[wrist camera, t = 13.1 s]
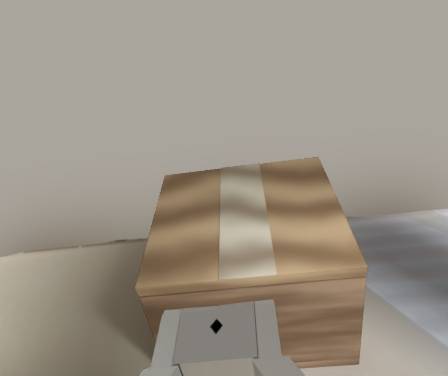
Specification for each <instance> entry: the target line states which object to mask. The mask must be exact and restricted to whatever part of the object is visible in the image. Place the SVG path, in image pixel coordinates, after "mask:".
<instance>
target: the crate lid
mask: <svg viewBox="0 0 448 376" xmlns="http://www.w3.org/2000/svg"><path fill="white" fill-rule="evenodd" d="M367 269H368V266H367V264H366V262H365V259H364V257H363V255H362V253H361V251H360V248H359V246H358V244H357V242H356V239H355V237H354V235H353V233H352V231H351V228H350V226H349V224H348V222H347V219H346V217H345V215H344V213H343V211H342V208H341V206H340V204H339V202H338V200H337V197H336V195H335V193H334V191H333V188H332V186H331V184H330V182H329V179H328V177H327V175H326V173H325V171H324V168H323V166H322V164H321V162H320V159H319V158H318V157H313V158H304V159H297V160H289V161H281V162H271V163H264V164H259V163H258V164H251V165H241V166H233V167H225V168H221V169H214V170H205V171H197V172H189V173H181V174H172V175H165V177H164V181H163V185H162V188H161V192H160V196H159V200H158V203H157V207H156V211H155V215H154V218H153V222H152V226H151V230H150V233H149V237H148V241H147V244H146V248H145V252H144V256H143V259H142V263H141V267H140V271H139V274H138V278H137V282H136V286H135V290H136V292H137V294H138V296H151V295H162V294H173V293H184V292H195V291H207V290H218V289H229V288H240V287H251V286H262V285H274V284H285V283H296V282H307V281H318V280H329V279H341V278H352V277H363V276H366V275H367Z"/></svg>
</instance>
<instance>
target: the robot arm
mask: <svg viewBox="0 0 448 376" xmlns="http://www.w3.org/2000/svg"><path fill="white" fill-rule="evenodd" d="M138 376H305V375H304V374H303V373H302V372H301V370H300V369H299V368H298V367H297V366H296V365H295V363H294V362H293V361H292V360H291V359H290V358H289V357H288V356H282V354H281V347H280V340H279V333H278V326H277V318H276V311H275V304H274V300H273V299H271V300H262V301H255V302H254V301H250V302H242V303H233V304H225V305H219V306H209V307H196V308H183V309H174V310H165V311H164V313H163V315H162V317H161V322H160V326H159V331H158V335H157V340H156V344H155V349H154V353H153V357H152V362H151V366H150V368H144V370H143V371H142V372H141V373H140V374H139V375H138Z"/></svg>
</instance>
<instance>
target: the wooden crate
mask: <svg viewBox="0 0 448 376" xmlns="http://www.w3.org/2000/svg"><path fill="white" fill-rule="evenodd" d="M365 287H366V276H363V277H352V278H341V279H329V280H318V281H307V282H296V283H285V284H274V285H262V286H251V287H240V288H229V289H218V290H207V291H195V292H184V293H173V294H162V295H151V296H140V301H141V304H142V306H143V309H144V312H145V314H146V317H147V320H148V322H149V325H150V328H151V331H152V333H153V336H154V339H155V341H156V340H157V335H158V331H159V326H160V322H161V317H162V315H163V313H164V311H165V310H174V309H183V308H196V307H209V306H219V305H225V304H233V303H242V302H250V301H254V302H255V301H262V300H271V299H273V300H274V304H275V311H276V318H277V326H278V333H279V340H280V347H281V354H282V356H288V357H289V358H290V359H291V360H292V361H293V362H294V363H295V365H296V366H297V367H298V368H311V367H326V366H341V365H355V364H359V358H360V346H361V334H362V322H363V310H364V298H365Z"/></svg>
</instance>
